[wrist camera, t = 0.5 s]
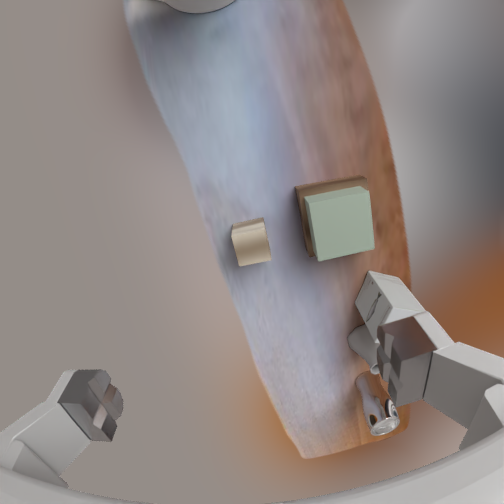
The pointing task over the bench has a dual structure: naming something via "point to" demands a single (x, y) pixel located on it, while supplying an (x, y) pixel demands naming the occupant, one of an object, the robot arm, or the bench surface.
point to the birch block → (251, 242)
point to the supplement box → (385, 301)
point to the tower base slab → (318, 189)
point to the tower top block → (340, 222)
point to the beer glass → (376, 404)
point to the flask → (365, 346)
